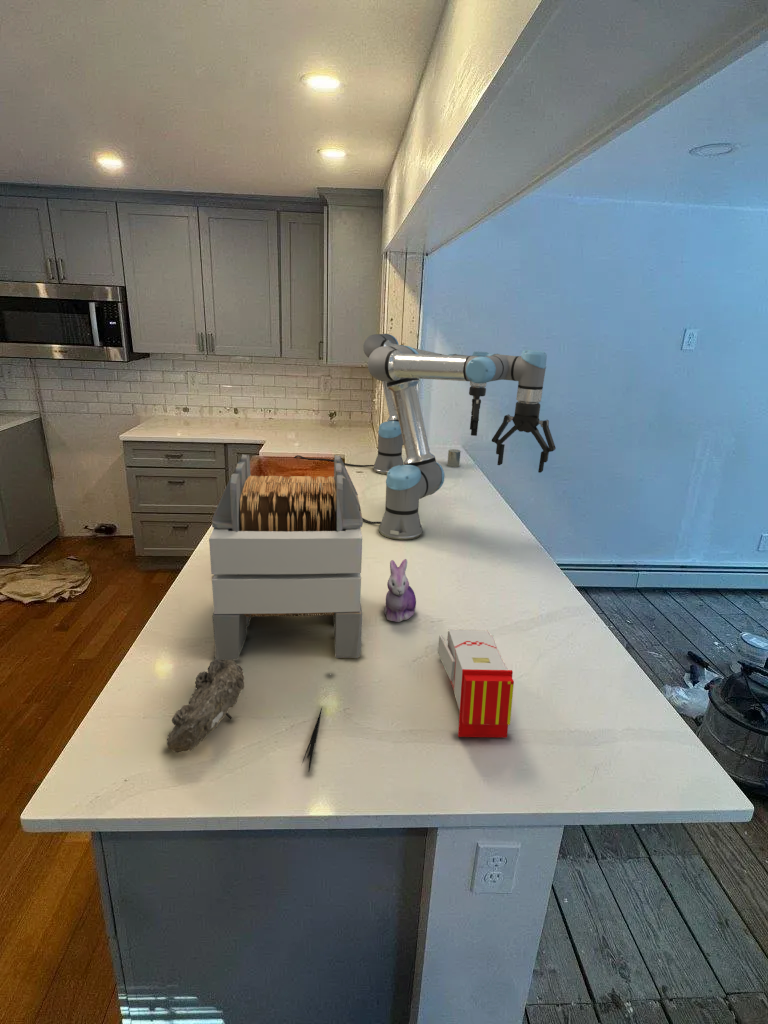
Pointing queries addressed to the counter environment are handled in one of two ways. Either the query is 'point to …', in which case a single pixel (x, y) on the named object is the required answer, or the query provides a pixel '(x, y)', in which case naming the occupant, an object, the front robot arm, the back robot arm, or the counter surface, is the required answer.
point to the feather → (313, 740)
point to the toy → (478, 682)
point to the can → (453, 458)
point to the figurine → (399, 594)
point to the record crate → (286, 555)
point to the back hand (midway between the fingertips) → (473, 432)
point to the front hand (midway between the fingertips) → (519, 468)
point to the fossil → (206, 705)
